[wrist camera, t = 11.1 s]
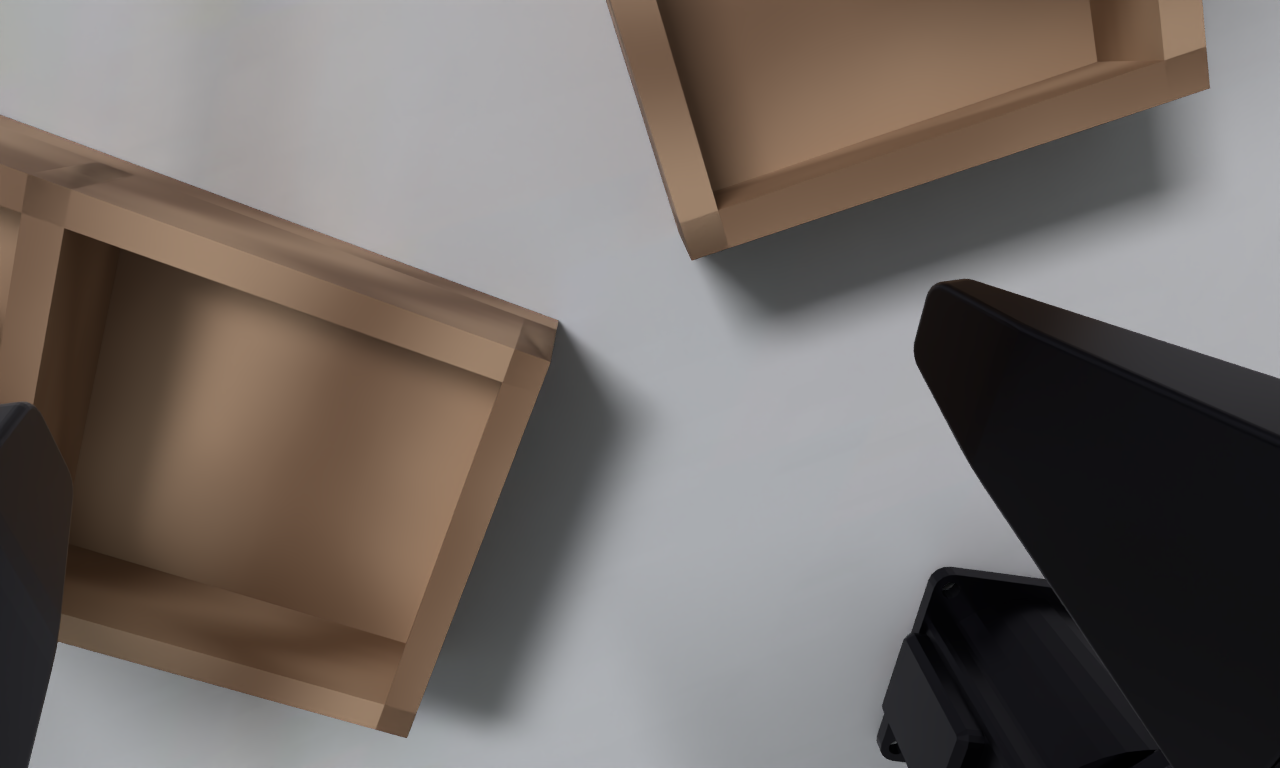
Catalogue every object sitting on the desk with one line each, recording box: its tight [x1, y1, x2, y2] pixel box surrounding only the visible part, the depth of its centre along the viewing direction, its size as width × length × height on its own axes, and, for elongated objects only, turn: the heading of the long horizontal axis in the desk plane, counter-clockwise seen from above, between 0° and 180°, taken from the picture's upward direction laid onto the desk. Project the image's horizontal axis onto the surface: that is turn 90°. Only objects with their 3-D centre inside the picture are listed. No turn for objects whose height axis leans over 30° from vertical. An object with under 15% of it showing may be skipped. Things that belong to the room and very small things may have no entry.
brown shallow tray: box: [0, 115, 558, 738], centre depth 20 cm, size 20×11×3 cm, turn 68°
